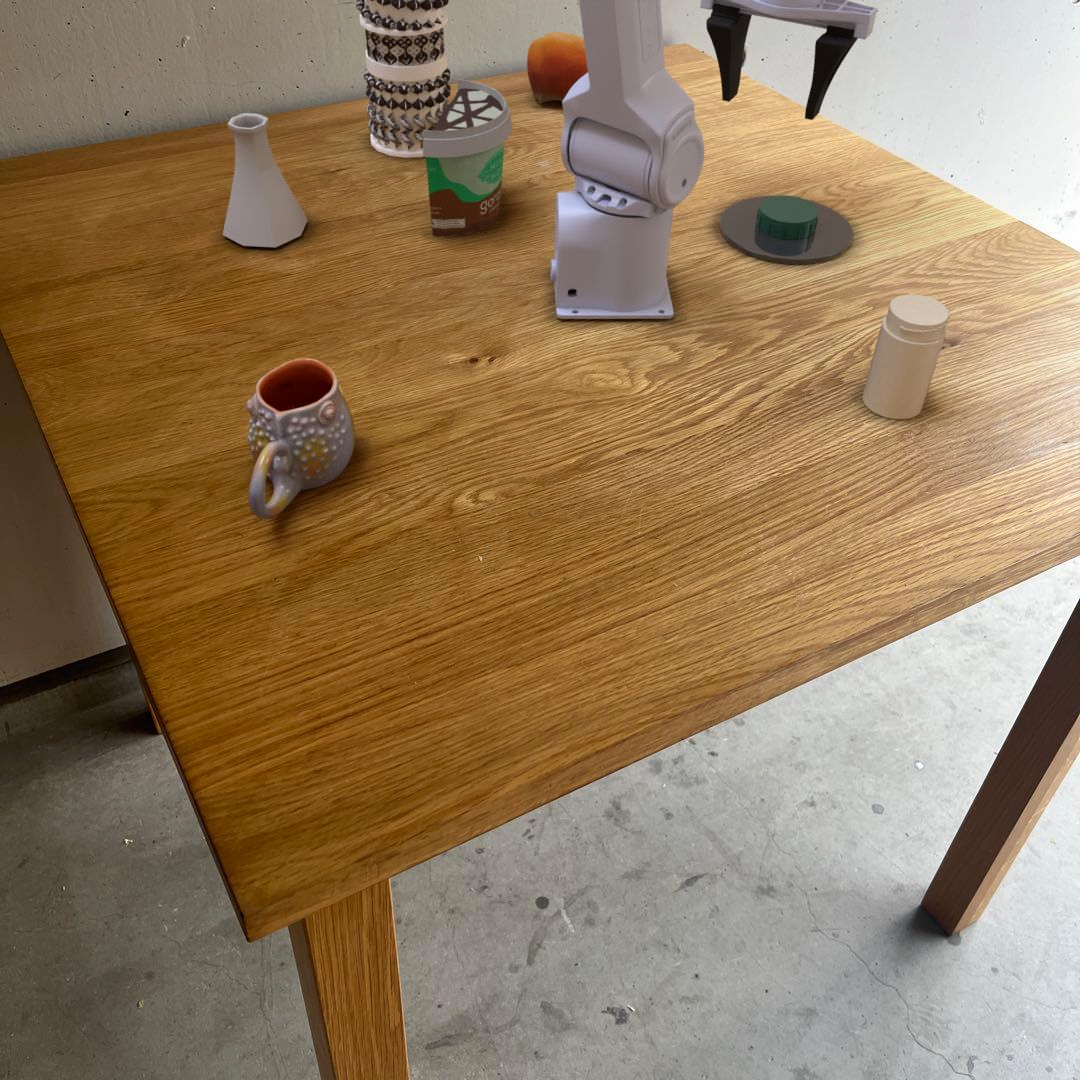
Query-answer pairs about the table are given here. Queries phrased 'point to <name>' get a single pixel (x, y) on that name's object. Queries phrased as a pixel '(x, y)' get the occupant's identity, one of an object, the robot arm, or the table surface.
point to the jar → (905, 356)
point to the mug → (297, 433)
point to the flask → (259, 190)
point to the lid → (787, 217)
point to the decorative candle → (404, 72)
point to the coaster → (818, 247)
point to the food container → (467, 160)
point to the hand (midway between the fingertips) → (770, 106)
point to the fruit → (555, 65)
